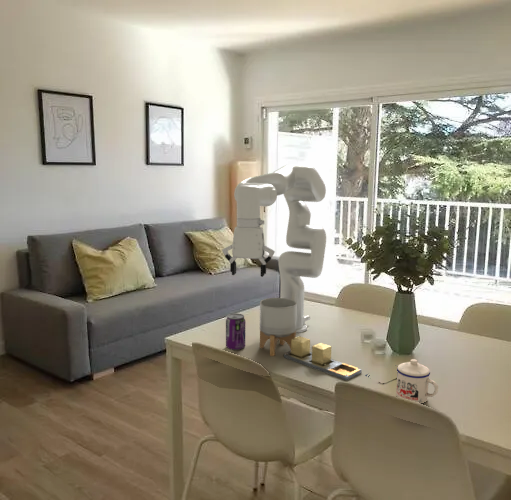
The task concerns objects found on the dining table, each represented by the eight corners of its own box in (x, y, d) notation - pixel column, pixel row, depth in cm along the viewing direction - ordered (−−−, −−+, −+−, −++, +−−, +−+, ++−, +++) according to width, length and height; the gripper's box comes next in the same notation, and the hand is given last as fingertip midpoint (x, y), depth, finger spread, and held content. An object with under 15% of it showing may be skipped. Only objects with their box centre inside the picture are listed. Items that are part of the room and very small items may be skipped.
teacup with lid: (389, 398, 147) (391, 360, 145) (404, 388, 153) (406, 351, 151) (429, 412, 139) (432, 372, 137) (443, 401, 145) (446, 362, 143)
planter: (289, 359, 175) (291, 309, 172) (254, 354, 179) (254, 305, 176) (299, 346, 187) (300, 299, 184) (266, 342, 191) (266, 296, 188)
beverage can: (242, 352, 181) (243, 319, 179) (223, 350, 183) (223, 318, 181) (247, 345, 188) (247, 313, 186) (228, 343, 189) (228, 312, 187)
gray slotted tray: (298, 352, 181) (298, 347, 181) (361, 374, 163) (361, 369, 163) (283, 358, 176) (283, 353, 175) (346, 381, 158) (347, 376, 157)
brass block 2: (320, 361, 173) (320, 342, 171) (330, 364, 169) (331, 346, 168) (311, 364, 169) (312, 346, 168) (322, 368, 166) (323, 349, 165)
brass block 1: (299, 353, 179) (299, 336, 178) (309, 357, 176) (310, 339, 175) (291, 357, 176) (291, 339, 175) (301, 360, 173) (301, 342, 171)
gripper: (276, 222, 167) (276, 274, 170) (225, 221, 170) (225, 271, 174) (272, 225, 160) (272, 279, 163) (219, 224, 163) (219, 276, 166)
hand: (248, 275), depth 168 cm, fingers open, 9 cm apart
